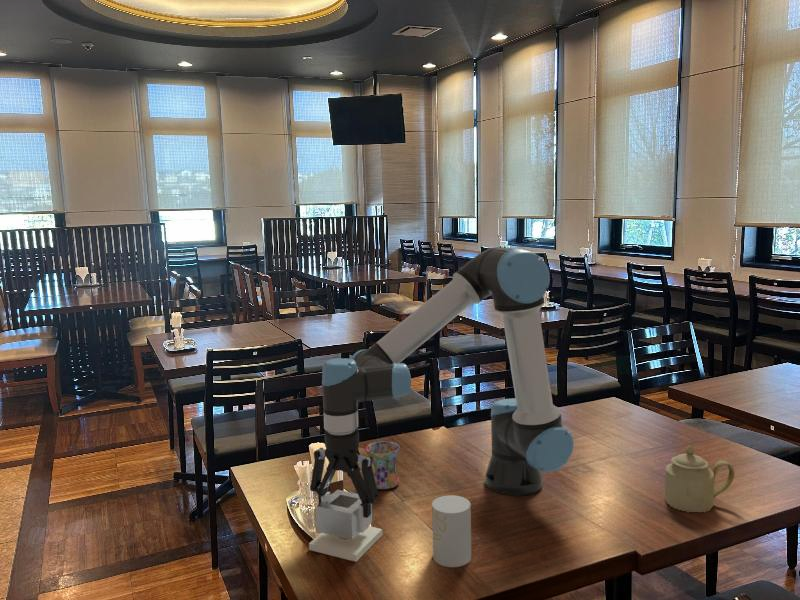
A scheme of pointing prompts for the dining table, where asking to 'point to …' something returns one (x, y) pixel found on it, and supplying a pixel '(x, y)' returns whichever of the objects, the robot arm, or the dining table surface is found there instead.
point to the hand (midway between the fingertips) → (345, 525)
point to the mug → (384, 463)
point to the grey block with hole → (340, 515)
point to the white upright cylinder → (451, 530)
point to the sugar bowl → (693, 482)
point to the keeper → (346, 544)
